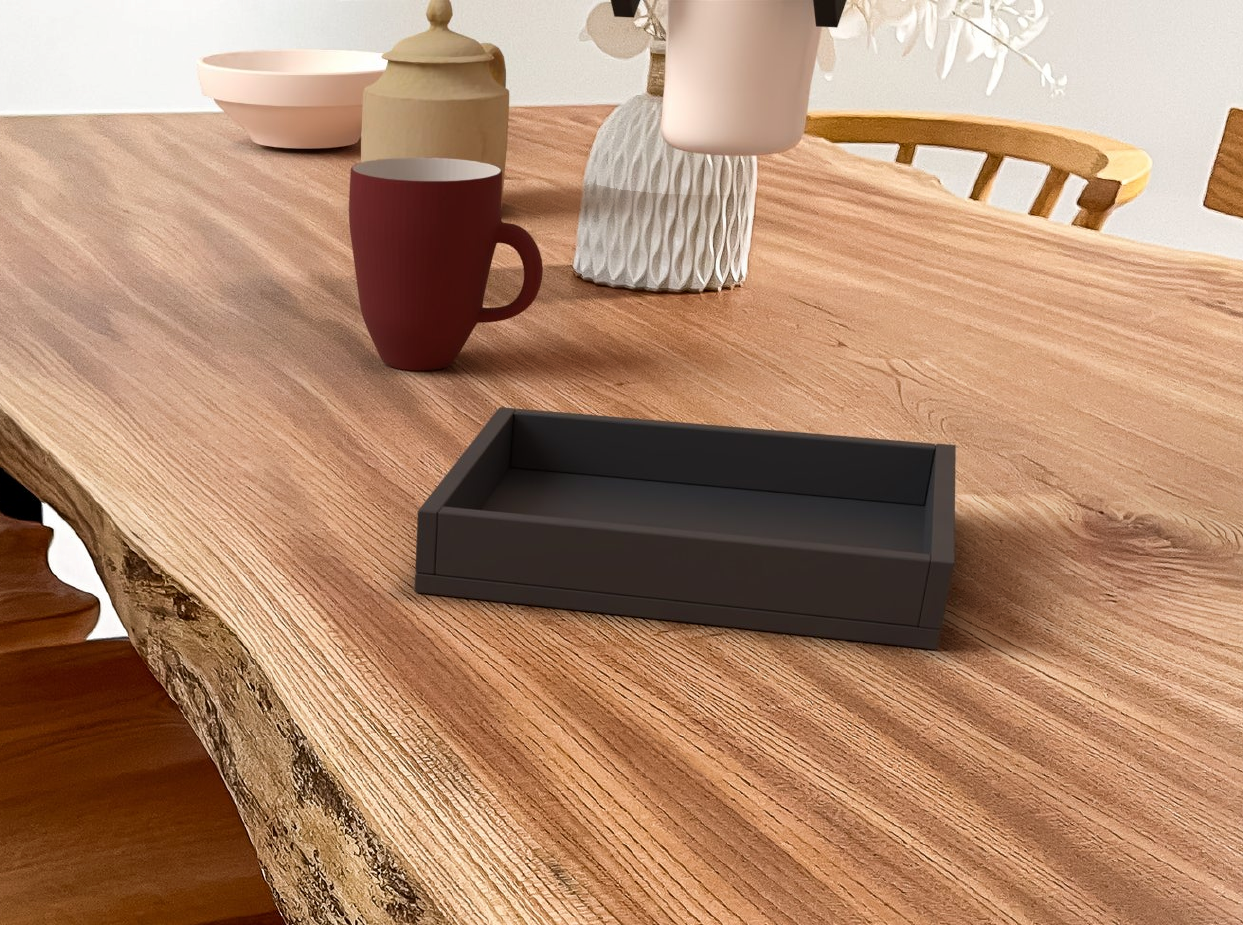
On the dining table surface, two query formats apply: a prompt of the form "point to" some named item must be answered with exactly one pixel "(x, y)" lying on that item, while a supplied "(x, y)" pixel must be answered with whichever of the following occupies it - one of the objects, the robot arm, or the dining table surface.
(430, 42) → the sugar bowl
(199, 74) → the bowl
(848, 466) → the tray
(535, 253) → the mug
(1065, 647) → the dining table surface
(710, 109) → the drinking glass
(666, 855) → the dining table surface
